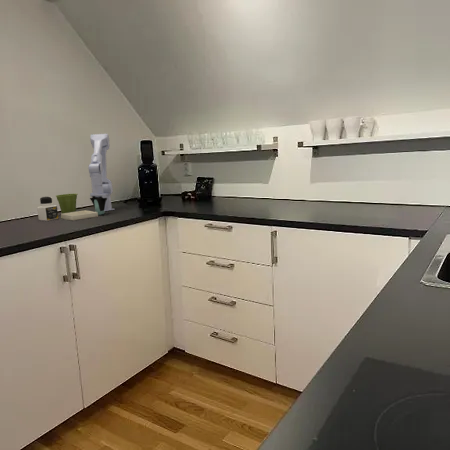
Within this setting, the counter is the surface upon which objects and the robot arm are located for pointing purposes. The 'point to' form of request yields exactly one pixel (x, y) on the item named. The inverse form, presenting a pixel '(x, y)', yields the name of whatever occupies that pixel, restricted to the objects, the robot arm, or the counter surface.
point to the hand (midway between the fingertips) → (99, 210)
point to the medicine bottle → (47, 209)
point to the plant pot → (67, 202)
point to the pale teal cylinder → (98, 208)
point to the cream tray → (79, 215)
